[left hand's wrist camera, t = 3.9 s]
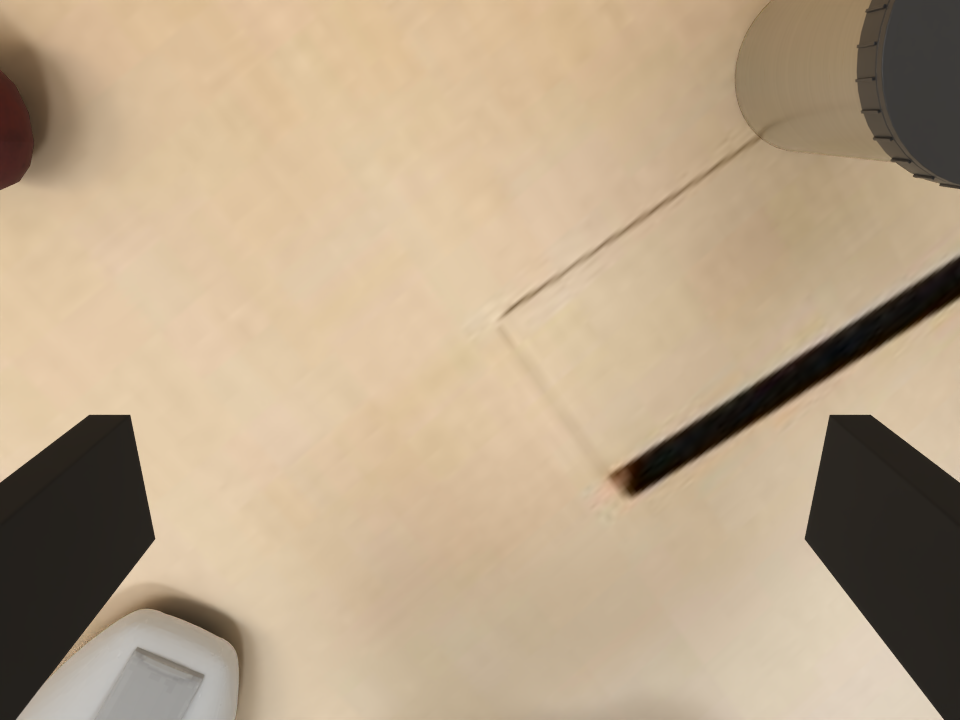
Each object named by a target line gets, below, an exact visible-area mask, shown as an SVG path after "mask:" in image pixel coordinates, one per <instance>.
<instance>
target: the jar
mask: <svg viewBox="0 0 960 720" xmlns="http://www.w3.org/2000/svg"><path fill="white" fill-rule="evenodd" d="M871 1H872V0H772V1H771V2H770V3H769V4H768V5H767V6H766V7H765V8H764V9H763V10H762V11H761V12H760V14H759V15H758V16H757V17H756V19H755V20H754V22H753V23H752V25H751V27H750V28H749V30H748V32H747V34H746V36H745V38H744V40H743V43H742V45H741V48H740V51H739V55H738V59H737V63H736V72H735V88H736V95H737V100H738V103H739V107H740V109H741V112H742V114H743V116H744V118H745V120H746V121H747V123H748V125H749V126H750V127H751V128H752V130H753V131H754V132H755V133H756V134H757V135H758V136H759V137H761V138H762V139H763V140H765V141H766V142H768V143H769V144H771V145H773V146H775V147H778V148H780V149H784V150H788V151H794V152H803V153H812V154H822V155H831V156H840V157H850V158H859V159H868V160H878V161H887V162H891V161H890V160H891V159H892V158H891V157H890V156H889V155H887V154H886V153H885V151H884V150H883V149H882V147H881V146H880V145H879V143H878V142H877V141H874V140H873V137H874V136H873V134H872V132H871V130H870V129H869V127H868V125H867V122H866V119H865V117H864V114H861V110H862V108H861V103H860V99H859V94H858V86H857V82H855V79H857V53H858V48H857V45H859V41H860V35H861V30H862V27H863V23H864V20H865V17H866V13H865V11H866V9H868V8H869V5H870V3H871Z"/></svg>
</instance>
